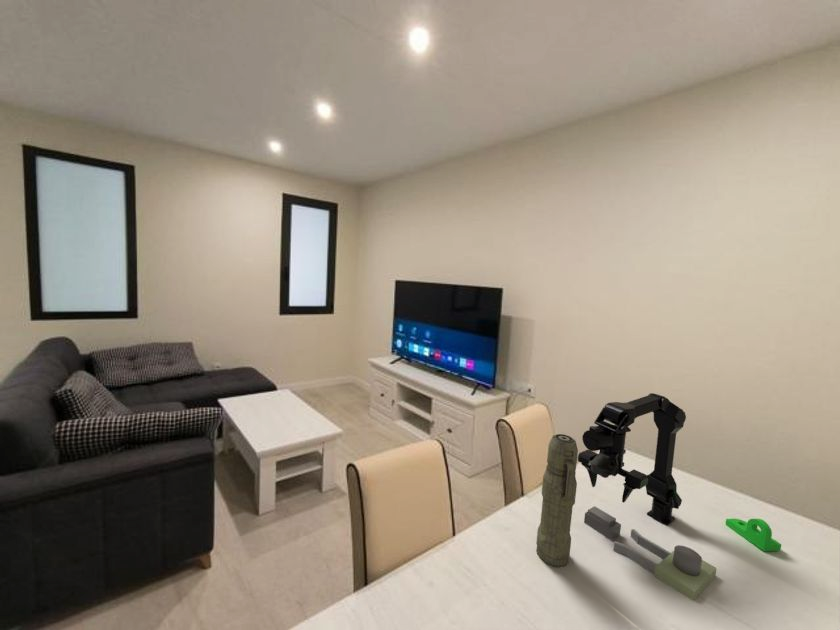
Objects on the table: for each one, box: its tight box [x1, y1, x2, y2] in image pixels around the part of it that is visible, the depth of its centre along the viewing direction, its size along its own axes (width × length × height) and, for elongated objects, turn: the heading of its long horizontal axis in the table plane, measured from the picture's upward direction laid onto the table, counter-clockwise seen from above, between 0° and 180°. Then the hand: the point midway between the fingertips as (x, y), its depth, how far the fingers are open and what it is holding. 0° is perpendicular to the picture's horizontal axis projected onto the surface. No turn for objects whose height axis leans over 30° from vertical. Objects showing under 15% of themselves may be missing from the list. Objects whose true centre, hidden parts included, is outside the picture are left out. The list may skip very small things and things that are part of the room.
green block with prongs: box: [612, 528, 717, 601], centre depth 101 cm, size 16×20×6 cm
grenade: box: [535, 433, 579, 569], centre depth 99 cm, size 9×12×35 cm
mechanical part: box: [725, 518, 782, 552], centre depth 115 cm, size 12×6×8 cm, turn 7°
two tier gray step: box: [583, 505, 622, 542], centre depth 113 cm, size 5×9×5 cm, turn 34°
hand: (608, 494), depth 109 cm, fingers open, 9 cm apart
